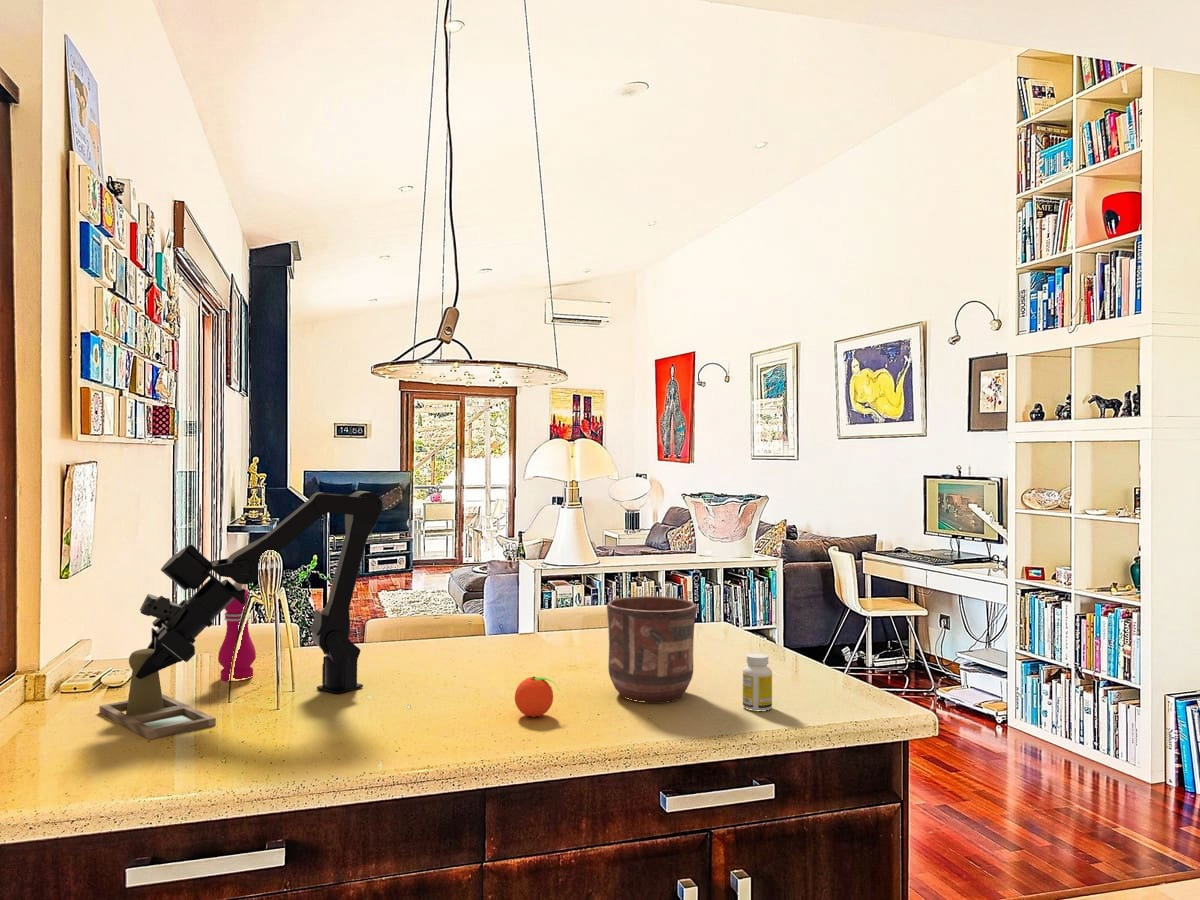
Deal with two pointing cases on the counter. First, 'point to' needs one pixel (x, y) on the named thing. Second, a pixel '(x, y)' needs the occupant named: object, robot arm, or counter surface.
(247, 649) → the pepper mill
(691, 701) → the counter surface
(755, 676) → the supplement bottle
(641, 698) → the pottery
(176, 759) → the counter surface
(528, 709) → the clementine
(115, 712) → the brown wooden frame
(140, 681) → the cork
